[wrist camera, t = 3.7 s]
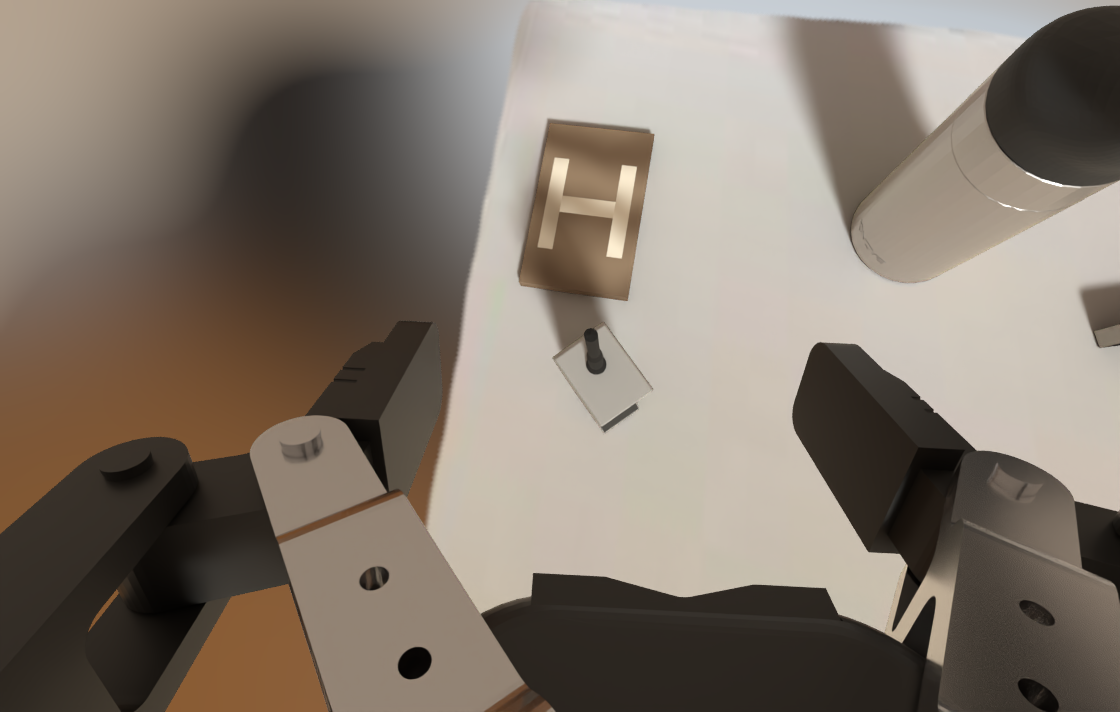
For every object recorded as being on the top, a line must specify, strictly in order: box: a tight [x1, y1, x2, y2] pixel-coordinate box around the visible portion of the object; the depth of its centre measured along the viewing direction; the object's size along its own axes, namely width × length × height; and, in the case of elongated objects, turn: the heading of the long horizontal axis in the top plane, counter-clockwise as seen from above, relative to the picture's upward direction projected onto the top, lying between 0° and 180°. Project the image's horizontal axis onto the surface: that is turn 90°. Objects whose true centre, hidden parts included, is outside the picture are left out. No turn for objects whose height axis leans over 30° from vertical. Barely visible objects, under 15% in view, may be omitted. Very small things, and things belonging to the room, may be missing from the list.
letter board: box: [519, 123, 654, 301], centre depth 49 cm, size 16×10×1 cm, turn 170°
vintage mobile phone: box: [553, 322, 653, 434], centre depth 34 cm, size 4×5×25 cm
